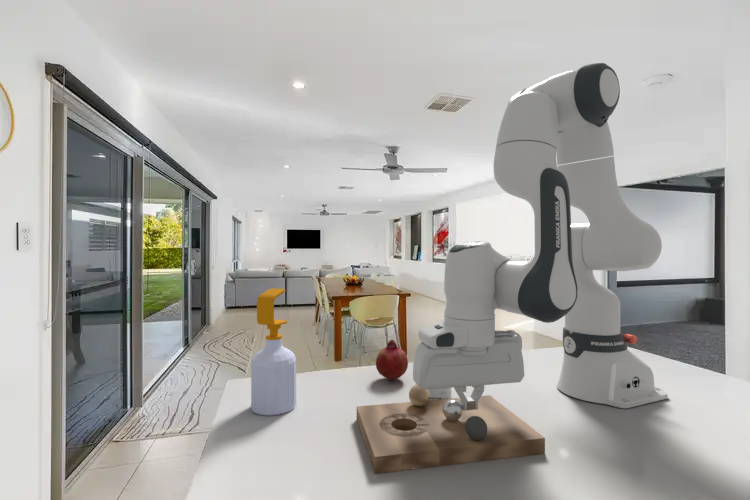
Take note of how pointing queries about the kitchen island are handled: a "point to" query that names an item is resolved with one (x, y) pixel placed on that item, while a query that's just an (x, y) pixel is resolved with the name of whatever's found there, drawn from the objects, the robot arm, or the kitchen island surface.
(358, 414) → the board
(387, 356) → the fruit
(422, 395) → the beech ball
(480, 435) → the black rubber ball
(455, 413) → the steel ball
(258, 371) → the soap bottle
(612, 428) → the kitchen island surface
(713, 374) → the kitchen island surface
